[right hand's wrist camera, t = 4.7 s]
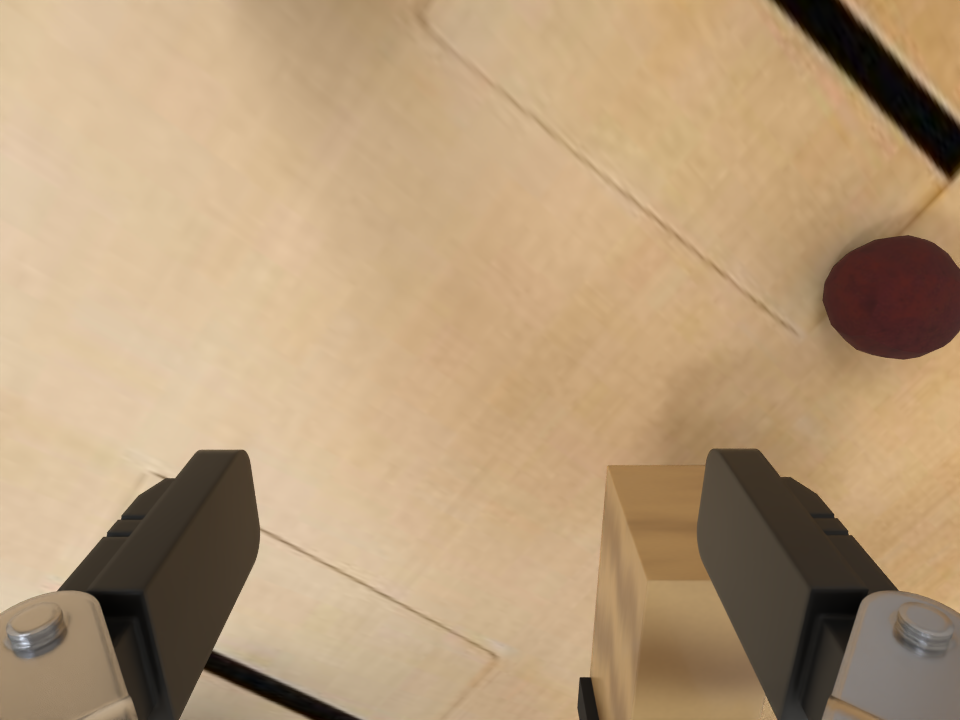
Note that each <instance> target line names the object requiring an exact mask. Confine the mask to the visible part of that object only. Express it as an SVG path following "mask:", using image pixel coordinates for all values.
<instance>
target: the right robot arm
mask: <svg viewBox="0 0 960 720" xmlns="http://www.w3.org/2000/svg"><path fill="white" fill-rule="evenodd" d="M259 542H260V525H259V518H258V511H257V504H256V497H255V491H254V484H253V477H252V470H251V464H250V459H249V456H248V454H247V453H246V451H244V450H199V451H197V452H196V453H195V454H194V455H193V457H192V458H191V459H190V461H189V462H188V463H187V464H186V466H185V467H184V468H183V469H182V471H181V472H180V473H179V474H178V476H177V477H176V478H166V479H164V480H162V481H161V482H159V483H158V484H156V485H155V486H153V487H151V488H150V489H148V490H147V491H145V492H144V493H142V494H140V495H139V496H138V497H137V498H136V499H135V501H134V502H133V503H132V504H131V505H130V506H129V508H128V509H127V510H126V511H125V512H124V513H123V515H122V518H121V520H117V522H116V523H115V524H114V525H113V526H112V527H111V529H110V530H109V531H108V532H107V537H103V538H102V539H101V540H100V541H99V543H98V544H97V545H96V546H95V547H94V548H93V550H92V551H91V552H90V553H89V554H88V556H87V557H86V558H85V559H84V560H83V561H82V563H81V564H80V565H79V566H78V567H77V568H76V570H75V571H74V572H73V573H72V574H71V575H70V577H69V578H68V579H67V580H66V581H65V582H64V584H63V585H62V586H61V587H60V588H59V589H58V591H57V592H51V593H47V594H42V595H39V596H36V597H33V598H30V599H28V600H25V601H23V602H20V603H18V604H16V605H14V606H12V607H11V608H9V609H7V610H6V611H4V612H2V613H1V614H0V720H179V718H180V716H181V714H182V712H183V710H184V708H185V706H186V704H187V702H188V700H189V698H190V696H191V693H192V691H193V689H194V687H195V685H196V683H197V681H198V679H199V677H200V675H201V673H202V671H203V669H204V667H205V664H206V662H207V660H208V658H209V656H210V654H211V652H212V650H213V648H214V646H215V644H216V642H217V640H218V638H219V635H220V633H221V631H222V629H223V627H224V625H225V623H226V621H227V619H228V617H229V615H230V613H231V611H232V609H233V607H234V604H235V602H236V600H237V598H238V596H239V594H240V592H241V590H242V588H243V586H244V584H245V582H246V580H247V578H248V575H249V573H250V571H251V569H252V567H253V565H254V563H255V560H256V557H257V554H258V549H259ZM697 543H698V549H699V554H700V557H701V560H702V562H703V565H704V567H705V569H706V571H707V573H708V575H709V577H710V579H711V581H712V583H713V586H714V588H715V590H716V592H717V594H718V596H719V598H720V600H721V602H722V604H723V606H724V609H725V611H726V613H727V615H728V617H729V619H730V621H731V623H732V625H733V627H734V630H735V632H736V634H737V636H738V638H739V640H740V642H741V644H742V646H743V648H744V651H745V653H746V655H747V657H748V659H749V661H750V663H751V665H752V667H753V669H754V671H755V674H756V676H757V678H758V680H759V682H760V684H761V686H762V688H763V690H764V692H765V695H766V697H767V699H768V701H769V703H770V705H771V707H772V709H773V711H774V713H775V715H776V718H777V720H960V614H959V613H958V612H956V611H954V610H953V609H951V608H949V607H947V606H946V605H944V604H942V603H940V602H937V601H935V600H932V599H930V598H927V597H924V596H921V595H918V594H913V593H909V592H903V591H899V590H898V589H897V588H896V587H895V586H894V584H893V583H892V582H891V581H890V580H889V579H888V577H887V576H886V575H885V574H884V573H883V571H882V570H881V569H880V568H879V567H878V566H877V564H876V563H875V562H874V561H873V560H872V558H871V557H870V556H869V555H868V554H867V553H866V551H865V550H864V549H863V548H862V547H861V546H860V544H859V543H858V542H857V541H856V540H855V538H854V537H853V536H852V535H848V530H847V529H846V528H845V527H844V525H843V524H842V523H841V522H840V521H839V520H838V518H834V514H833V512H832V511H831V510H830V509H829V508H828V507H827V505H826V504H825V503H824V502H823V501H822V499H821V498H820V497H819V496H818V495H817V494H816V493H814V492H813V491H811V490H810V489H808V488H806V487H805V486H803V485H802V484H800V483H799V482H797V481H796V480H794V479H792V478H791V477H780V476H779V474H778V473H777V472H776V471H775V469H774V468H773V467H772V466H771V464H770V463H769V462H768V461H767V459H766V458H765V457H764V455H763V454H762V453H761V452H760V451H759V450H758V449H712V450H711V451H710V452H709V454H708V457H707V460H706V466H705V473H704V480H703V487H702V494H701V501H700V507H699V514H698V521H697Z"/></svg>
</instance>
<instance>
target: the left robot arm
mask: <svg viewBox="0 0 960 720" xmlns="http://www.w3.org/2000/svg"><path fill="white" fill-rule="evenodd" d="M578 714H579V720H599V716H598V711H597V706H596V701H595V696H594V690H593V685H592V680H591V677H580V681H579V695H578Z"/></svg>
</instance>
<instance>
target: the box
mask: <svg viewBox="0 0 960 720" xmlns="http://www.w3.org/2000/svg"><path fill="white" fill-rule="evenodd" d="M705 466H706V465H609V466H608V467H607V477H606V489H605V501H604V513H603V525H602V537H601V549H600V561H599V573H598V585H597V597H596V609H595V622H594V634H593V646H592V658H591V670H590V677H591V680H592V685H593V690H594V696H595V701H596V706H597V711H598V716H599V720H760V719H761V714H762V709H763V705H764V700H765V696H766V695H765V692H764V690H763V688H762V686H761V684H760V682H759V680H758V678H757V676H756V674H755V671H754V669H753V667H752V665H751V663H750V661H749V659H748V657H747V655H746V653H745V651H744V648H743V646H742V644H741V642H740V640H739V638H738V636H737V634H736V632H735V630H734V627H733V625H732V623H731V621H730V619H729V617H728V615H727V613H726V611H725V609H724V606H723V604H722V602H721V600H720V598H719V596H718V594H717V592H716V590H715V588H714V586H713V583H712V581H711V579H710V577H709V575H708V573H707V571H706V569H705V567H704V565H703V562H702V560H701V557H700V554H699V549H698V543H697V521H698V514H699V507H700V501H701V494H702V487H703V480H704V473H705Z"/></svg>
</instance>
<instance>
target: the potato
mask: <svg viewBox="0 0 960 720" xmlns="http://www.w3.org/2000/svg"><path fill="white" fill-rule="evenodd" d="M823 303H824V306H825V309H826V312H827V314H828V317H829V320H830V323H831V325H832V326H833V327H834V328H835V329H836V330H837V332H838V333H839V334H840V335H841V336H842V337H843V338H844V339H845V340H846V341H847V342H848V343H849V344H851V345H852V346H853V347H854V348H855V349H857V350H860V351H862V352H865V353H868V354H871V355H876V356H881V357H886V358H895V359H910V358H916V357H920V356H923V355H925V354H927V353H930V352H932V351H934V350H937V349H939V348H941V347H944V346H945V345H946V344H948V343H949V342H950V341H951V340H952V339H953V338H954V337H955V336H956V335H957V333H958V332H959V331H960V269H959V268H958V266H957V265H956V264H955V263H954V261H953V260H952V258H951V257H950V256H949V254H948V253H946V252H945V251H944V250H942V249H941V248H940V247H939V246H937V245H936V244H935V243H932V242H930V241H928V240H925V239H921V238H917V237H913V236H909V235H908V236H898V237H891V238H885V239H878V240H874V241H872V242H870V243H867V244H865V245H863V246H861V247H859V248H857V249H855V250H853V251H851V252H850V253H848V254H847V255H845V256H844V257H843V258H842V259H841V260H840V261H839V262H838V263H837V264H836V265H835V266H834V267H833V268H832V270H831V272H830V274H829V276H828V277H827V279H826V281H825V284H824V293H823Z"/></svg>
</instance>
